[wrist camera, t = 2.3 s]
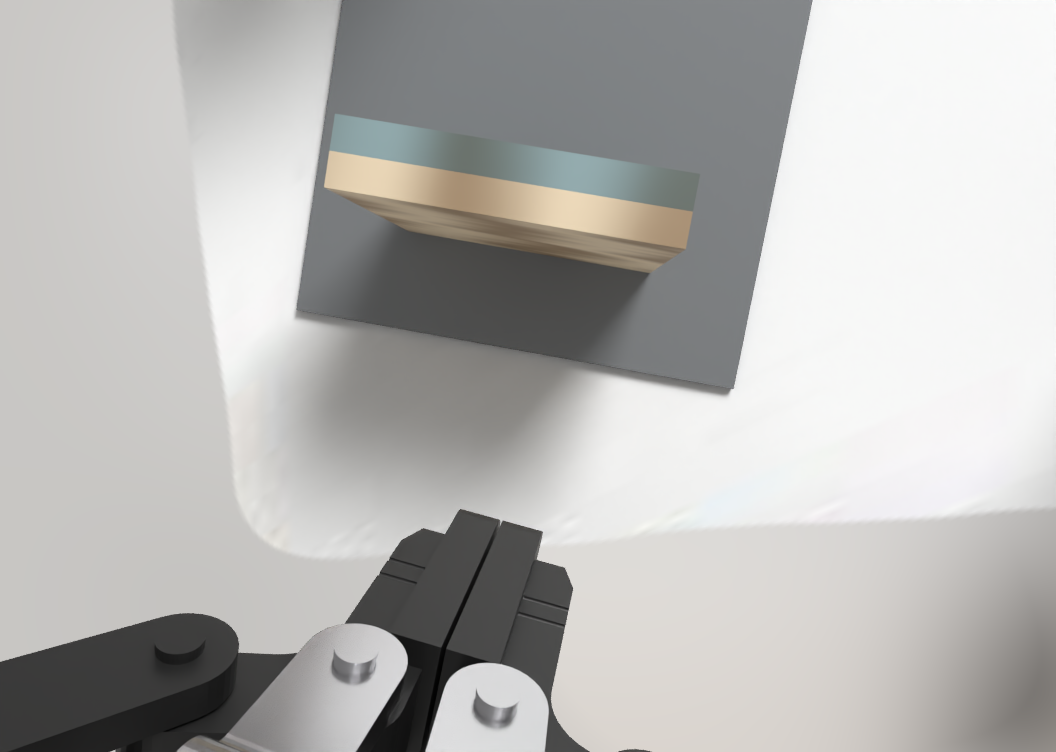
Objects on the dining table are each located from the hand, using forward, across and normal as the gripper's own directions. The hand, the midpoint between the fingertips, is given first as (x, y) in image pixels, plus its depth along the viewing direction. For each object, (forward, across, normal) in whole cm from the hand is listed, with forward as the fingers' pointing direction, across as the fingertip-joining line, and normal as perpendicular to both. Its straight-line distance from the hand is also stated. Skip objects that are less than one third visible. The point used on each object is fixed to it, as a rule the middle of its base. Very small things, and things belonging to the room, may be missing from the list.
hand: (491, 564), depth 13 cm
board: (+25, +4, -3) cm, 25 cm away
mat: (+26, +4, -6) cm, 27 cm away
